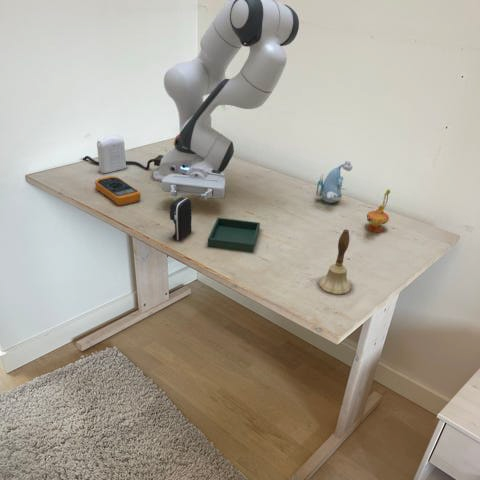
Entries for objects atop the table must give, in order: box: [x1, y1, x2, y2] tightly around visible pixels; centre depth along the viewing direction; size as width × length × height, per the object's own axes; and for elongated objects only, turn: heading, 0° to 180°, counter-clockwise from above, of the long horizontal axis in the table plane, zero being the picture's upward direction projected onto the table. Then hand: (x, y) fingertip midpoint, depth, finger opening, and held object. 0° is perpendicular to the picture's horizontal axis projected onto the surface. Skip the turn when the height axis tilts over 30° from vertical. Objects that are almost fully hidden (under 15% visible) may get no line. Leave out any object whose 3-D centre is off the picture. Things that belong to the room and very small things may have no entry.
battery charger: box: [169, 196, 193, 242], centre depth 144 cm, size 7×4×11 cm, turn 153°
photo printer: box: [96, 135, 127, 174], centre depth 181 cm, size 10×4×12 cm, turn 134°
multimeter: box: [94, 175, 142, 206], centre depth 167 cm, size 9×18×3 cm, turn 40°
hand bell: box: [318, 229, 352, 295], centre depth 125 cm, size 8×8×16 cm
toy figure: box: [315, 160, 353, 204], centre depth 168 cm, size 17×10×15 cm, turn 168°
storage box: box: [207, 217, 261, 253], centre depth 147 cm, size 13×14×3 cm
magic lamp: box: [366, 188, 391, 233], centre depth 154 cm, size 7×18×11 cm, turn 149°
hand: (188, 195), depth 151 cm, fingers open, 8 cm apart
